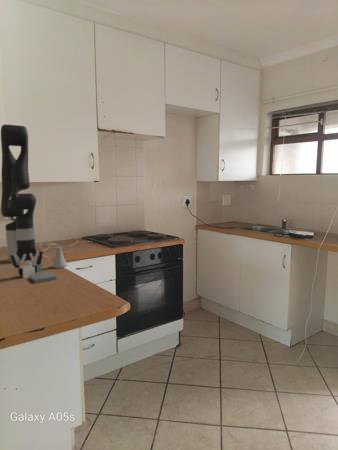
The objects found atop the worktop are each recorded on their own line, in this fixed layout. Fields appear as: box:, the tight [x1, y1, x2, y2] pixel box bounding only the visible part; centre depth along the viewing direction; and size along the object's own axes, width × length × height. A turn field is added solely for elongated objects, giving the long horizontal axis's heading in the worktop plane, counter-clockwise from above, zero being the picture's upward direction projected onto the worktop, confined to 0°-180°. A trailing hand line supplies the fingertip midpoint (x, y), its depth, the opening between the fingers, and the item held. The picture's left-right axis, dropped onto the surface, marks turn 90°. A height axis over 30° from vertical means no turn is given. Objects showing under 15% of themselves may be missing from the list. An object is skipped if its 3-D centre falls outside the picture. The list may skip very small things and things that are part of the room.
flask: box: [52, 246, 68, 269], centre depth 164 cm, size 7×7×10 cm
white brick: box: [21, 265, 35, 279], centre depth 148 cm, size 5×5×4 cm
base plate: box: [28, 271, 57, 284], centre depth 144 cm, size 9×9×2 cm
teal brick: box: [27, 262, 43, 273], centre depth 157 cm, size 5×5×4 cm
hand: (28, 274), depth 149 cm, fingers closed on white brick, 5 cm apart
